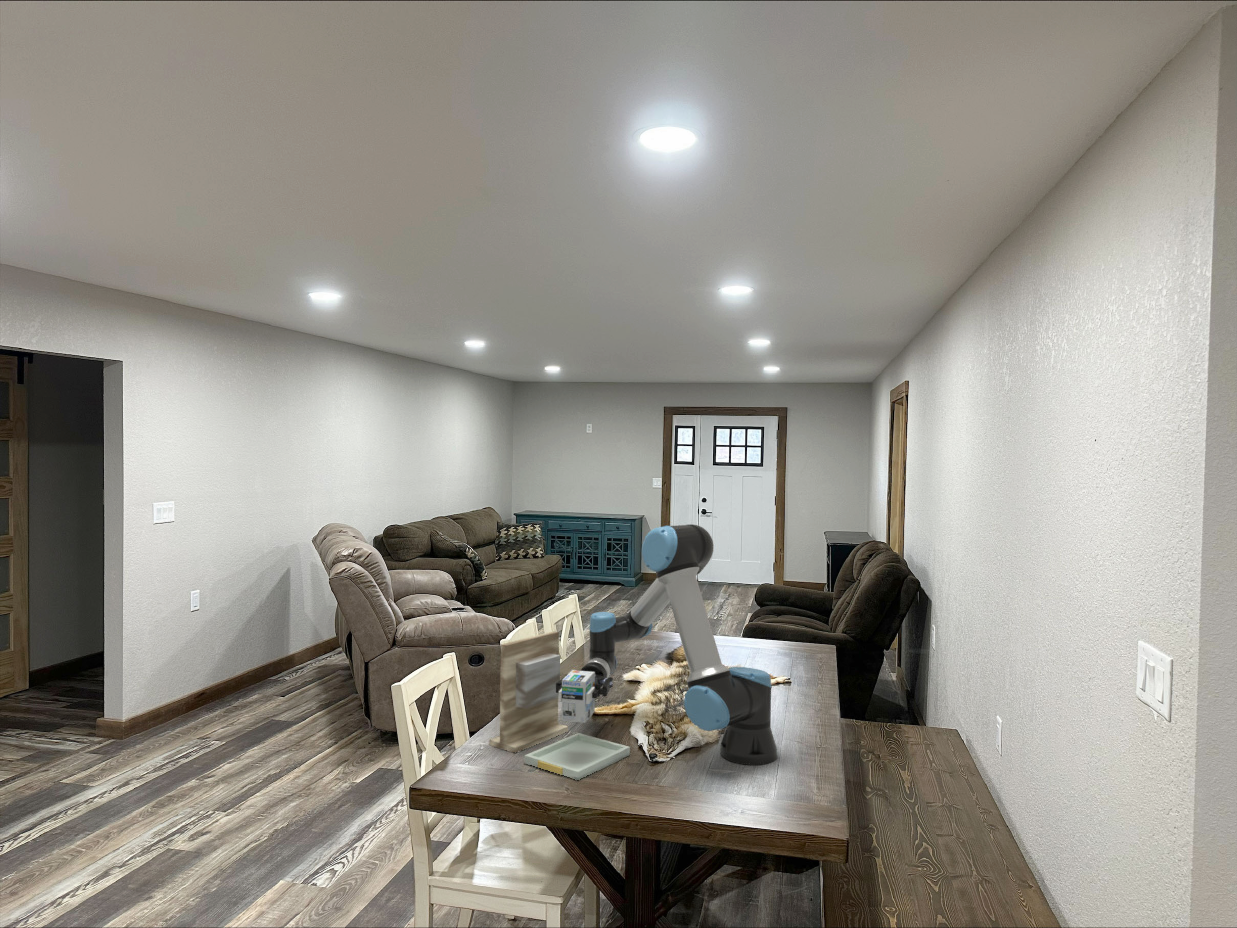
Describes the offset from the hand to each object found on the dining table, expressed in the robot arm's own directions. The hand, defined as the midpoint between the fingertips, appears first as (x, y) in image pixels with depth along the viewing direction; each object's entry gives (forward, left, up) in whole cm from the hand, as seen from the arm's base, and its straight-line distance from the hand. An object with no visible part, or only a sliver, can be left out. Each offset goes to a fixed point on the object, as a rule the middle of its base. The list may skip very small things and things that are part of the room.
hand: (573, 697), depth 208 cm
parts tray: (+2, -5, -18) cm, 18 cm away
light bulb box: (+2, -5, -6) cm, 8 cm away
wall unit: (+23, -9, -18) cm, 30 cm away
